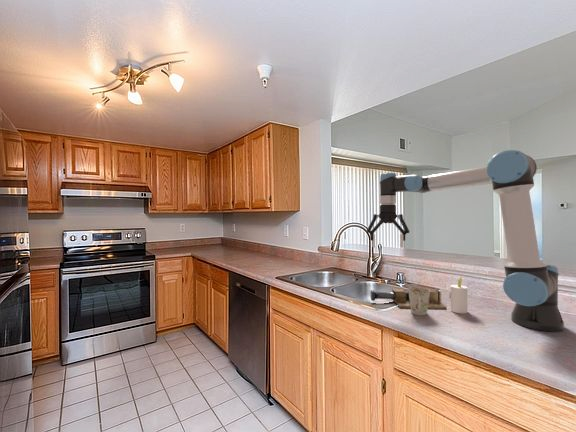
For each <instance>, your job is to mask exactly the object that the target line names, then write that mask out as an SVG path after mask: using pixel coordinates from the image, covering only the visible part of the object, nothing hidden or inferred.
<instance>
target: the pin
mask: <svg viewBox="0 0 576 432" xmlns="http://www.w3.org/2000/svg"><path fill="white" fill-rule="evenodd" d="M369 293H370V295H369V296H370V301H375V300H378V299H379V300H380V299H381V300H392V299H395V292H392V291H391V292H388V291H387V292H382V291H375V290H373V289H372V290H370V292H369ZM405 299H409V293H408V292H405Z"/></svg>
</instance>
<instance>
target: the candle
mask: <svg viewBox="0 0 576 432" xmlns="http://www.w3.org/2000/svg"><path fill="white" fill-rule="evenodd" d="M462 279H463V276H460V277H459V278H458V282H457V284H450V292H449V299H450V300H449V302H450V305H449V306H450V309H449V310H450V312H453V313H456V314H461V315H462V314H463V315H464V314H467V313H468V287H467V286H466V285H462Z"/></svg>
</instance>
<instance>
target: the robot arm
mask: <svg viewBox="0 0 576 432" xmlns="http://www.w3.org/2000/svg"><path fill="white" fill-rule="evenodd" d="M537 169H538V166H537V163H536V161H535V160H534V158H532V157H531V156H529V155H527V154H525V153H524V152H522V151H520V150H516V149H515V150H514V149H508V150H507V149H506V150H502V151H499V152H497V153H496V154H494V155H493V156H492V157H491V158H490V159H488V162H487V164H486V166H485V165H484V166H481V167H475V168H468V169H462V170H457V171H450V172H444V173H437V174H431V175H427V176H426V175H425V176H420V175H419V174H407V175H399V176H398V175H397V173H395V172H384V173H381V174H380V176H379V177H380V178H379V204H380V205H379V214H375V213H374V214H373V215H372V220H371V221H370V223H369V225H368V227H367V228H366V233H369V236H370V238H369V239H370V241H371V244H372V246H371V247H372V248H376V234H375V232H376V231H377V230H378V229H379V228H380V227H381V226H382V224H393V225H394V226H395V227H396V228H397V230H398V231H399V232H400V234H399V247H400V248H404V242H406V235H407V234H409V233H410V230H409V227H408V226H407V224H406V221H405V219H404V216H403V214H402V213H399V214H397V205H396V204H397V193H400V192H401V193H402V192H410V193H419V194H426V193H428V192H433V191H443V190H451V189H459V188H460V189H461V188H466V187H467V188H468V187H474V186H477V187H478V186H484V185H491V184H492V185H491V186H492V190H493V192H494V193H496V194H498V197H499V204H500V211H501V217H502V225H503V231H504V238H505V243H506V244H505V245H506V252H507V258H508V259H507V262H506V263H505V264H503V265H504V266H503V267H504V276H505V278H504V279H503V284H502V287H503V291H504V293H505V295H506V296H507V298H509V299H510V300H511V301H512V302H514V303H515V305H514V307H513V309H512V312H511V316H510V318H511V321H512V322H513V323H515V324H517V325H519V326H522V327H524V328H525V327H526V328H528V329H532V330H537V331H543V332H551V333H554V332H556V333H557V332H562V331H563V332H564V330H565V322H564V320H563V317H562V315H561V312H560V309H559V306H558V305H559V303H558V302H559V274H560V273H559V270H558V269H559V268H558V267H557V266H556V265H553V264H546V263H545V262H544V261H542V260H541V259H540V258H541V257H540V252H539V245H538V239H537V231H536V225H535V219H534V213H533V207H532V199H531V192H530V190H532V188H534V186H535V182H534V177H535V175H536V173H537V171H538V170H537ZM378 218H379V219H380V220H379V221H378V223H376V225H375V226H374V224H375V222H376V220H378ZM396 219H398V220H399V222H400V224H401V225H402V226H401V225H400V224H399V223H398V222H397V220H396Z"/></svg>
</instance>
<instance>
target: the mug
mask: <svg viewBox="0 0 576 432" xmlns="http://www.w3.org/2000/svg"><path fill="white" fill-rule="evenodd" d="M429 289H430V288H427V287H421V286H410V287H408V289H407V292H408V291H409V299H410V306H411V308H410V312H411V314H413V315H416V316H426V315H427V313H428V310H429V309H428V303H429V296H430V290H429Z"/></svg>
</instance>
